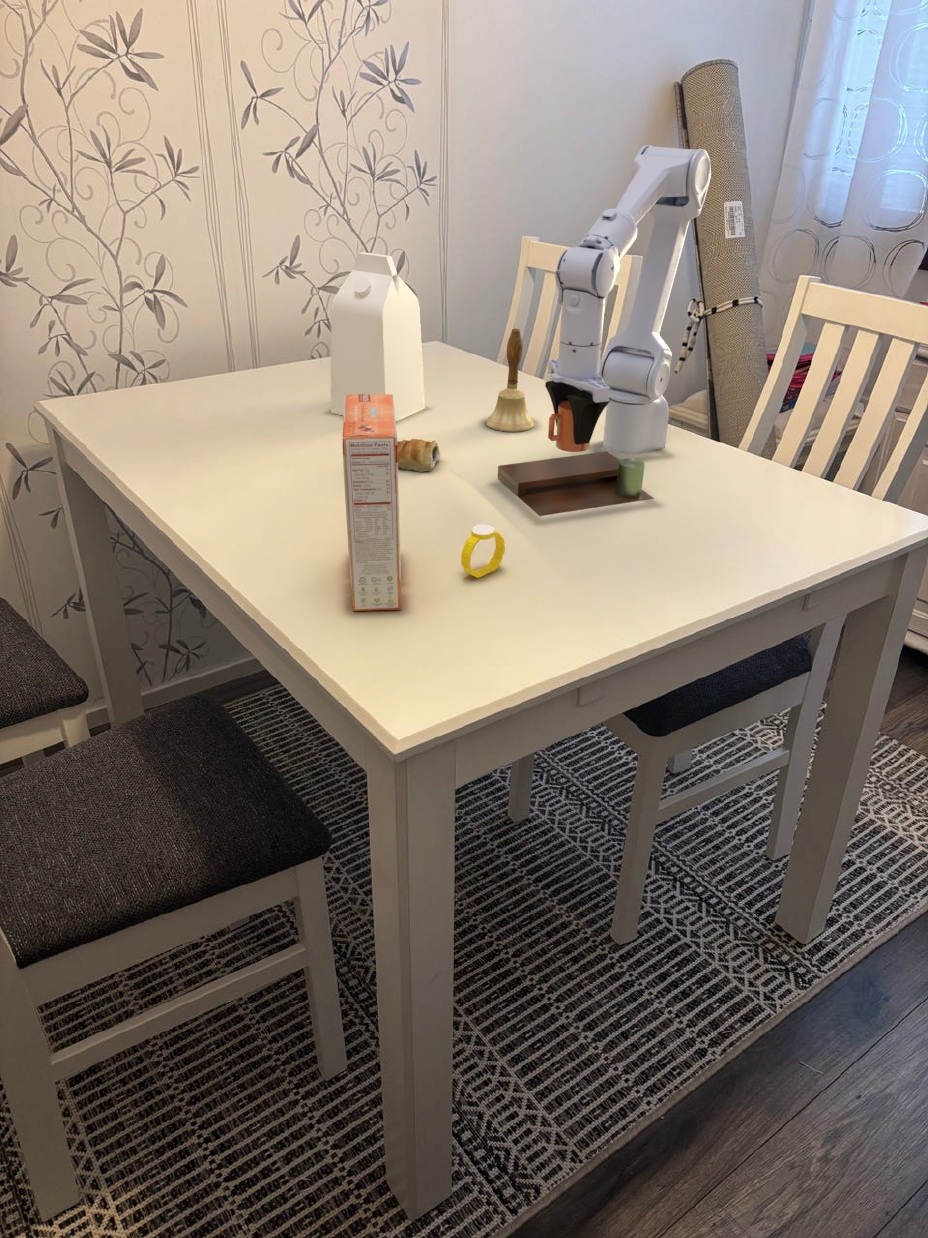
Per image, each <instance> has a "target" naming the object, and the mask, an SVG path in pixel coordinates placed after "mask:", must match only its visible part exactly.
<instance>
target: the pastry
mask: <svg viewBox="0 0 928 1238" xmlns="http://www.w3.org/2000/svg"><path fill="white" fill-rule="evenodd" d="M397 448H398V469H402V470H407V471H412V470H414V471H416V472H430V471H432V470H433V469H434V468H435V465H436V462H438V461H439V460H440V458H441V453H440V446H439V444H438V442H437V441H436V440H432V441H427V440H424V439H418V438H411V439H410V440H407V439H402V440H399V441H398V440H397Z"/></svg>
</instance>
